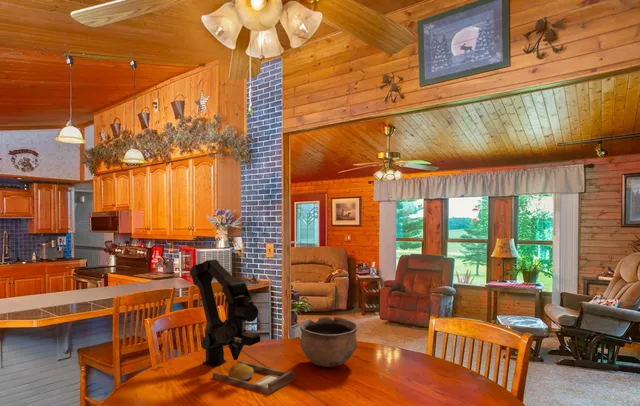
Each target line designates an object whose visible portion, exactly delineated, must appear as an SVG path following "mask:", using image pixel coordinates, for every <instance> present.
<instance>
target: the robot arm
mask: <svg viewBox="0 0 640 406" xmlns="http://www.w3.org/2000/svg"><path fill="white" fill-rule="evenodd" d="M189 275H190V276H191V279H192V282H193V284H194V285H196V286H197V287H198V288H199V289H198V290H199V295H200V298H201V303H202V307H203V311H204V315H205V319H206V326H205V329H204V337H203V338H202V339H201V341H200V345H201V348H202V349H203V350H205V361H202V364H203V365H206V366H210V367H217V366H219V365H222V364H224V363H226V362H227V360H226V359H225V351H224V347H227V346H228V348H229V351H230V354H231V357H232V359H233V361H238V359H239V356H240V354H241V353H242V350H243V347H244V346H246V347H247V346H248V347H250V346H253V345H256V344H258V343H260V342H261V335H260V334H259V333H257V332H256V333H255V332H249V333H247V334H245V333H246V332H247V329H245V328H244V323H245V322H250V323H251V322H254V321H256V320H257V318H258V316H259V310H258V307H257V306H256V305H255V304H254V301H253V300H252V297H251V296H252V294H251V293H250V291H249V289H248V286H247V284H246V282H245V280H243V279H241V278H239V277H236V276H233V275H232V274H230V273H229V272H228V270H226V268H224V266H222V264H220V262H219V260H218V259H208V260H205V261H203V262H201V263H198V264H193V265H192V267H191V268H190V270H189ZM213 279H215V280H216V281H217V283H219V284H220V286H222V288H221V292H222V293H223V294H224V296H225V299H224V301H223V302H224V303H227V304H226V305H227V307H226V314H227V317H226V319H224V321H223V320H221V318H220V314H219V311H218V307H217V302H216V298H215V295H214V290H213V285H212V282H213Z"/></svg>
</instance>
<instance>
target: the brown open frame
mask: <svg viewBox="0 0 640 406" xmlns="http://www.w3.org/2000/svg"><path fill="white" fill-rule="evenodd" d="M239 363H243V364H246V365H247V366H249V367H252V368H253V371H254V372H259V373H263V374H266V376H264V377H262V378H261V379H259V380H258V381H256V382H254V383H253V382H251V381H246V380H240V379H236V378H233V377H230V376H229V375H225V374H221V373H218V372H213V373H212V374H211V375H212V379H214V380H220V381H222V382H225V383H229V384H233V385H237V386H239V387H243V388H246V389H250V390H254V391H256V392H261V393H264V394H267V395H271V394H273V393H275V392H276V391H279V390H280V389H282V388H283V387H285V386H287V385H289V384H290V383H293V381H295V380H296V375H295V370H292V369H290V370H289V371H287V372H286V371H283V370H278V369H275V368H271V367H266V366H262V365H259V364H254V363H252V362H247V361H243V360H237V364H239Z"/></svg>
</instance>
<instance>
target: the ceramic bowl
mask: <svg viewBox="0 0 640 406" xmlns="http://www.w3.org/2000/svg"><path fill="white" fill-rule="evenodd" d="M317 319H318V320H317V321H314V320H312V319H311V318H309V319H305V320H303V321H302V322H301V323H300V324H299V328H300V331H301V334H300V348H301V350H302V352H303V353H304V355H305V356H306V358H307V359H308V360H309V361H310V362H312V363H313V364H314V365H316V366H321V367H327V368H329V367H337V366H341V365H343V364H345V363H346V362H347V361H348V360H350V359H351V357H352V356H353V354H355V351H356V350H357V345H358V339H357V334H356V333H357V331H358V328H359V326H358V324H357V323H356V322H354V321H352V320H349V319H347V318H343V317H342V318H341V317H337V316H335V317H333V319H332V318H331V317H329V316H322V317H321V316H319V317H318V318H317Z"/></svg>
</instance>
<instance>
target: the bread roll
mask: <svg viewBox="0 0 640 406" xmlns="http://www.w3.org/2000/svg"><path fill="white" fill-rule="evenodd" d="M227 373H228V376H229V377H233V378H236V379H240V380H244V381H246V380H249V379H251V378H252V377H253V376H254V373H255V371H254V370H253V368H252V367H249V366H247V365H246V364H243V363H239V364H238V363H236V364H234V365H232V366H231V367H230V368H229V370H228V372H227Z"/></svg>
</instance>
